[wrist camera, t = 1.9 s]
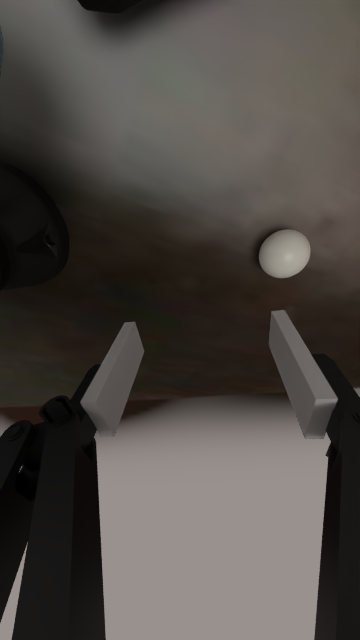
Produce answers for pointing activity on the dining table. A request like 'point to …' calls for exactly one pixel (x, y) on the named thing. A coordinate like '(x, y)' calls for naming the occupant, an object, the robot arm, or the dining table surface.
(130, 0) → the portable speaker
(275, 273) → the ivory ball
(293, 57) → the dining table surface
